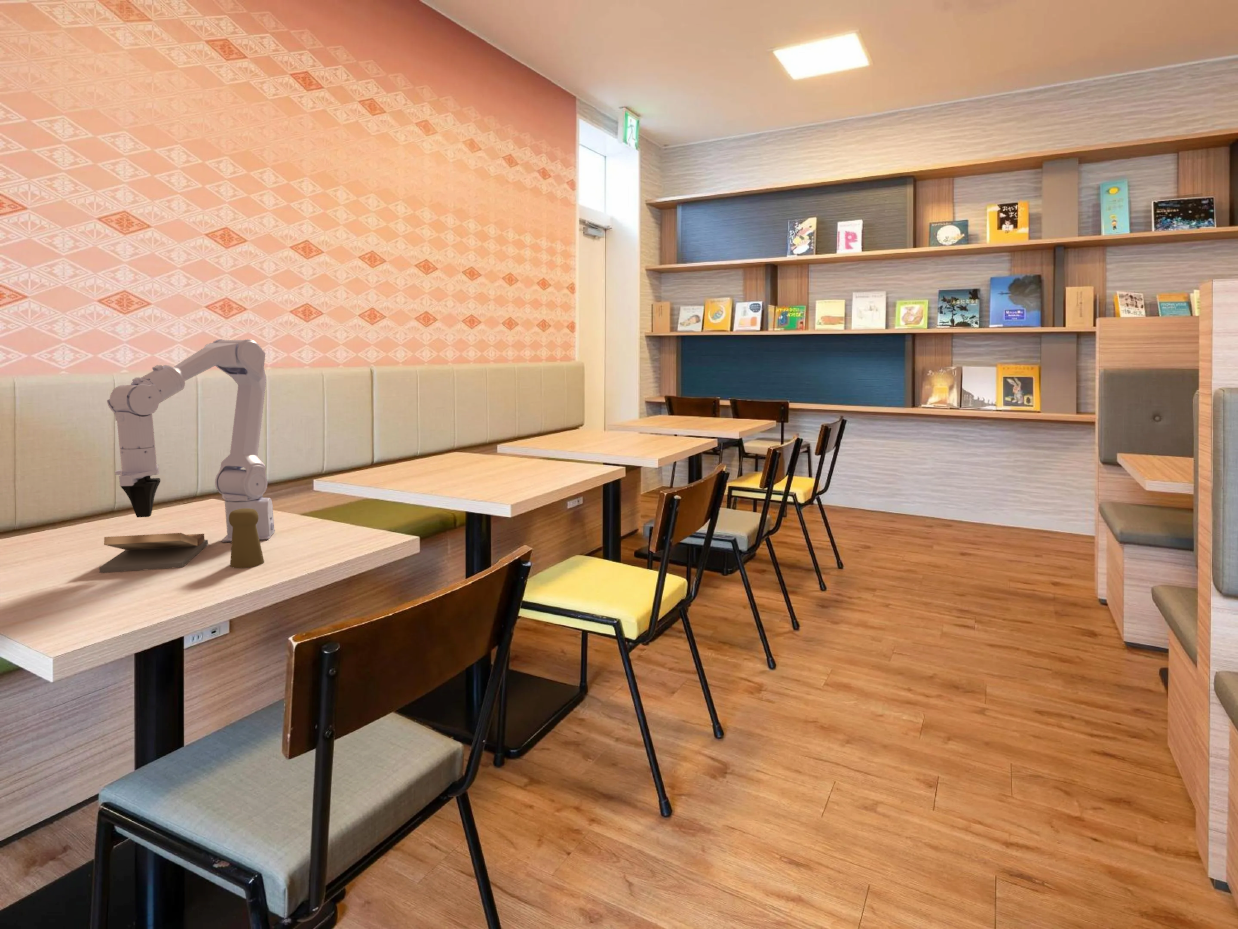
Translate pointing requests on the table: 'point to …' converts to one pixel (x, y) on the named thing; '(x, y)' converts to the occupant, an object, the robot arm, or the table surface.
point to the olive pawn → (245, 539)
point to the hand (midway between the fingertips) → (143, 516)
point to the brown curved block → (198, 537)
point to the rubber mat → (152, 558)
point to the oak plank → (151, 541)
